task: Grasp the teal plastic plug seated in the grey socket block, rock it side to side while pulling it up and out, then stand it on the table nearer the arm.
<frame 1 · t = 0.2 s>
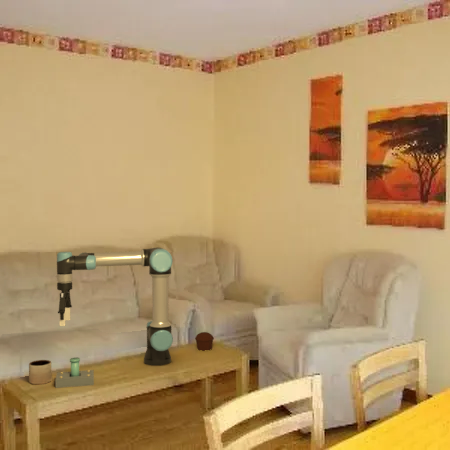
hand: (65, 323, 296), 28 cm above the table, fingers open, 13 cm apart
planter: (40, 382, 288), on the table
grey socket block: (75, 382, 286), on the table
plug: (75, 382, 286), resting in grey socket block
muffin: (204, 349, 350), on the table
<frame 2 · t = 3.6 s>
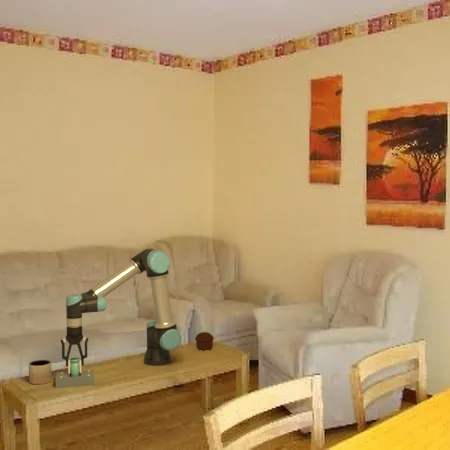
hand: (75, 372, 286), 5 cm above the table, fingers closed on plug, 5 cm apart
plug: (75, 382, 286), resting in grey socket block, touching gripper
everything else where it was.
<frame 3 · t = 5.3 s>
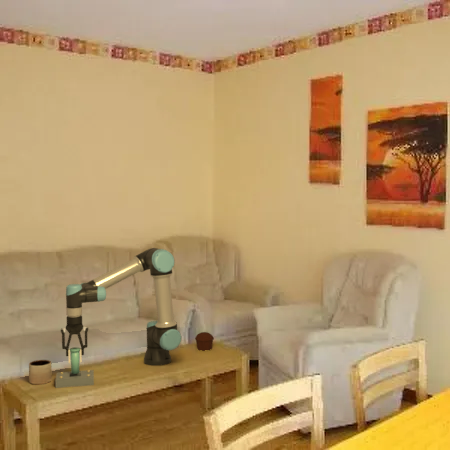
hand: (75, 362, 286), 10 cm above the table, fingers closed on plug, 5 cm apart
plug: (75, 372, 286), point 5 cm above the table, touching gripper
everything else where it was.
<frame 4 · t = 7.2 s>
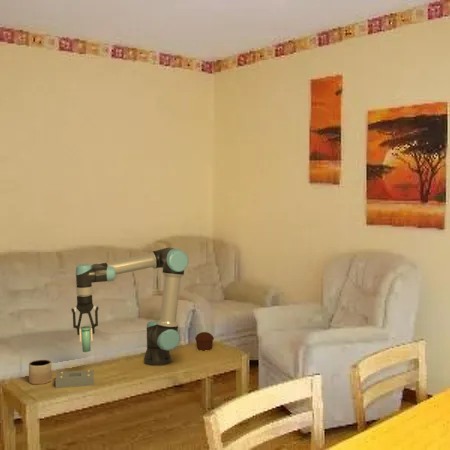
hand: (86, 340, 291), 20 cm above the table, fingers closed on plug, 5 cm apart
plug: (86, 350, 291), point 15 cm above the table, touching gripper
everything else where it was.
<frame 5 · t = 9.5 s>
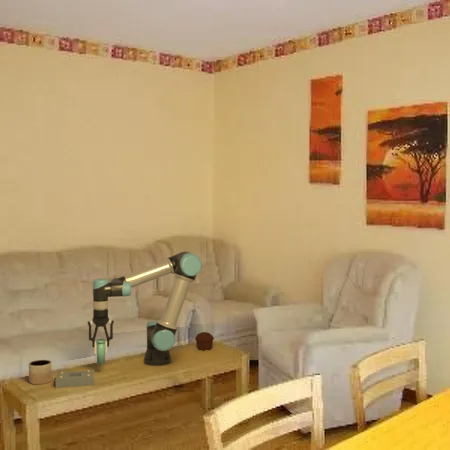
hand: (100, 353, 299), 11 cm above the table, fingers closed on plug, 5 cm apart
plug: (100, 362, 299), point 6 cm above the table, touching gripper
everything else where it was.
when the fingers open (6 cm above the table, at t = 11.2 s): plug stays where it is, on the table.
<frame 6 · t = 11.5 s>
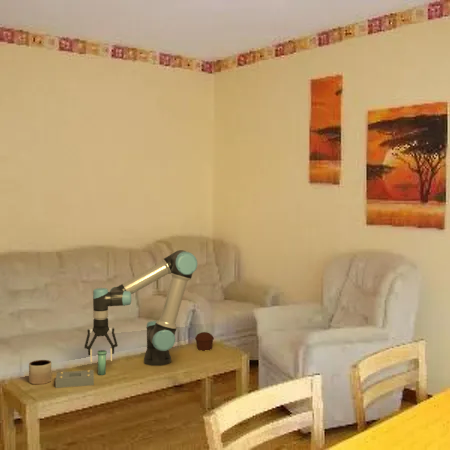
hand: (101, 360, 299), 7 cm above the table, fingers open, 9 cm apart
plug: (101, 374, 300), on the table
everything else where it was.
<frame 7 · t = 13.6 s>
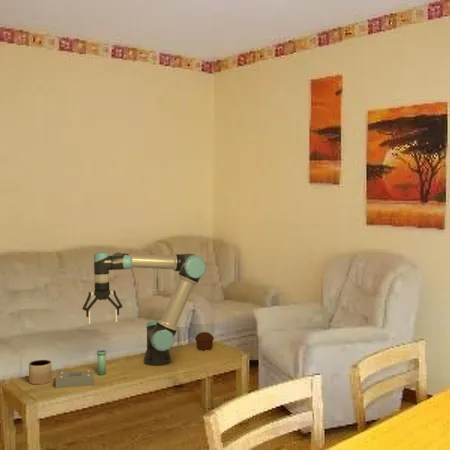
hand: (103, 322, 300), 27 cm above the table, fingers open, 13 cm apart
nothing on the table moved.
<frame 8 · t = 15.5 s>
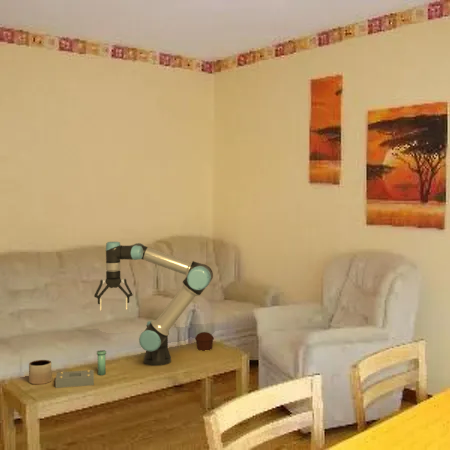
hand: (113, 309, 310), 32 cm above the table, fingers open, 13 cm apart
nothing on the table moved.
at the end: plug inside the target area (0.1 cm from its centre), on the table; plug tilted 0°; the gripper is holding nothing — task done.
